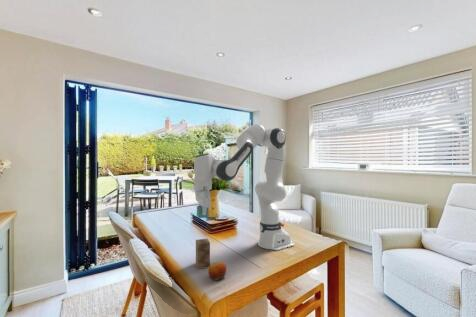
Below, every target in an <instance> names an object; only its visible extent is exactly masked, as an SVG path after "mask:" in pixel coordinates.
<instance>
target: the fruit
mask: <svg viewBox="0 0 476 317" xmlns="http://www.w3.org/2000/svg"><path fill="white" fill-rule="evenodd" d="M226 272H227V265H226V264H225V262H224V261H223V262H222V261H217V262H213V263H212V264H210V267H208V275H209V277H210V279H211V280H214V281H216V282H218V280H220V279H224V280H225V275H226Z"/></svg>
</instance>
